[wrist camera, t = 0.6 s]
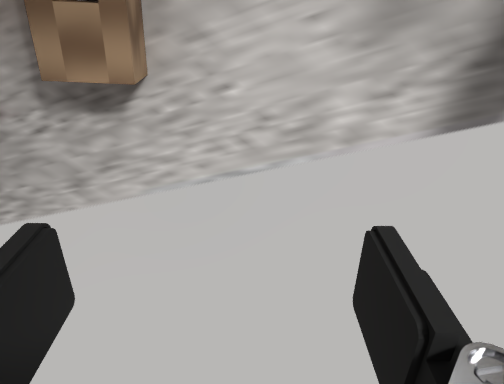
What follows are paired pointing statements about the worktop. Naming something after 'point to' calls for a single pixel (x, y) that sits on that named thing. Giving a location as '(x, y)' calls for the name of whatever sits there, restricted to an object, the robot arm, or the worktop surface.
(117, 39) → the rail
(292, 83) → the worktop surface
